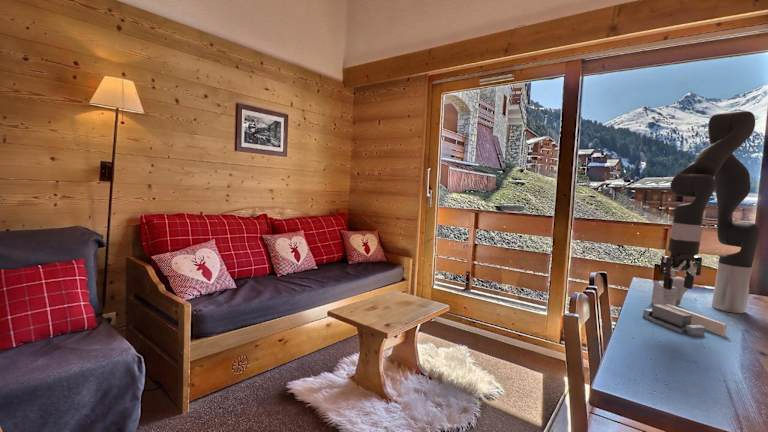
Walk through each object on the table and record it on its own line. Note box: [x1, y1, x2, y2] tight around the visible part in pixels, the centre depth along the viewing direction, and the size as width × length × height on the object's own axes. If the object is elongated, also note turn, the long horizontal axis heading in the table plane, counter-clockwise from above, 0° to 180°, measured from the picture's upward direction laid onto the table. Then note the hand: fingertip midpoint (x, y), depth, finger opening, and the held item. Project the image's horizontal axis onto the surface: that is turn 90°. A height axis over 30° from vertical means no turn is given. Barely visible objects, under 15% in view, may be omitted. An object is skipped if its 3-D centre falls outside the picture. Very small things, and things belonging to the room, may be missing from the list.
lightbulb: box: [672, 276, 689, 306], centre depth 144 cm, size 6×6×11 cm
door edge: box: [665, 304, 728, 337], centre depth 124 cm, size 2×18×4 cm, turn 15°
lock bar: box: [651, 304, 692, 332], centre depth 123 cm, size 4×10×5 cm, turn 16°
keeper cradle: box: [642, 308, 706, 337], centre depth 122 cm, size 8×16×2 cm, turn 16°
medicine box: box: [651, 281, 678, 307], centre depth 140 cm, size 8×4×9 cm, turn 168°
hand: (677, 288), depth 121 cm, fingers open, 8 cm apart
